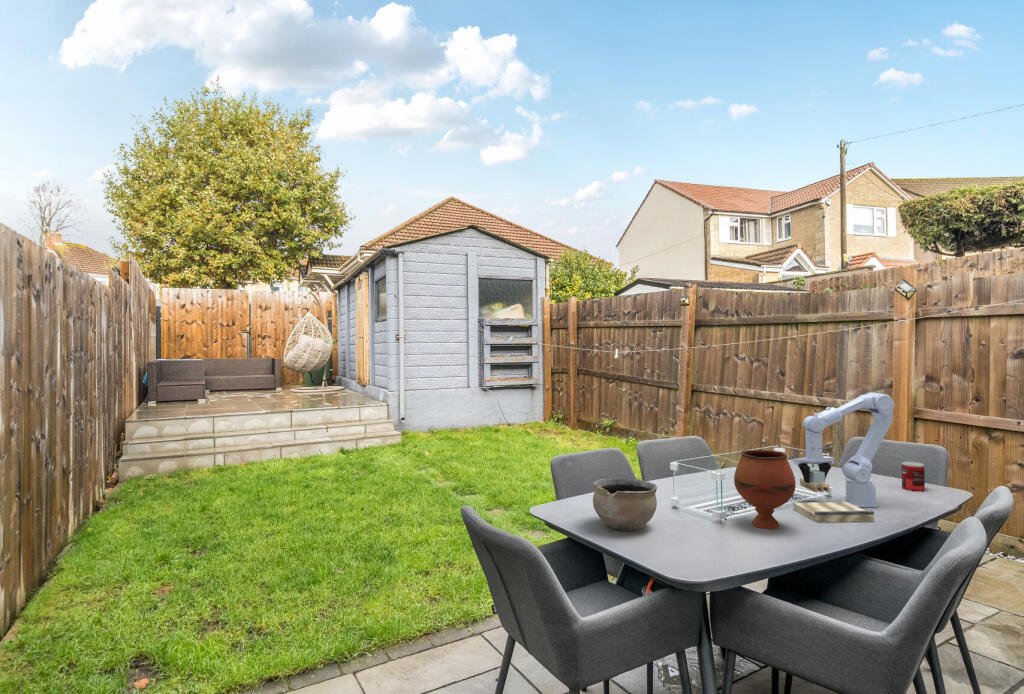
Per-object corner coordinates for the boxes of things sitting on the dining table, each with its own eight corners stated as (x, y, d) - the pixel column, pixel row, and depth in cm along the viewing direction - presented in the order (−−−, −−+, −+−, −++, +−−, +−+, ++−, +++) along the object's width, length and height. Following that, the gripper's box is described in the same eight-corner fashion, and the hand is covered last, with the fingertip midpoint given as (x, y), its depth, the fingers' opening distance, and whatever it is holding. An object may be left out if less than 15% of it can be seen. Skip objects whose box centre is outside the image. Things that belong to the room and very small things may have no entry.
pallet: (814, 485, 221) (813, 477, 221) (829, 492, 210) (829, 484, 210) (800, 485, 221) (799, 477, 221) (814, 492, 210) (814, 484, 210)
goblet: (722, 521, 197) (721, 450, 197) (764, 514, 203) (763, 446, 204) (765, 537, 179) (764, 460, 179) (809, 529, 186) (808, 455, 186)
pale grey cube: (819, 480, 216) (818, 470, 216) (825, 483, 212) (824, 472, 212) (808, 480, 216) (808, 470, 216) (814, 483, 212) (814, 472, 212)
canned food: (905, 486, 241) (904, 460, 241) (927, 489, 235) (926, 463, 235) (899, 489, 236) (898, 463, 236) (921, 492, 230) (921, 466, 230)
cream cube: (813, 478, 220) (813, 468, 220) (819, 480, 216) (818, 470, 216) (803, 478, 220) (803, 468, 220) (808, 480, 216) (808, 470, 216)
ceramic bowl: (579, 526, 194) (579, 482, 194) (619, 513, 208) (619, 473, 208) (631, 542, 177) (630, 495, 177) (671, 527, 191) (670, 483, 191)
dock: (846, 508, 209) (846, 499, 209) (874, 521, 193) (874, 511, 193) (793, 509, 209) (793, 500, 209) (816, 522, 193) (816, 512, 193)
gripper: (826, 445, 220) (827, 479, 220) (790, 446, 220) (790, 480, 220) (837, 448, 213) (837, 484, 213) (799, 449, 213) (799, 484, 213)
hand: (814, 482), depth 216 cm, fingers closed on pallet, 5 cm apart
